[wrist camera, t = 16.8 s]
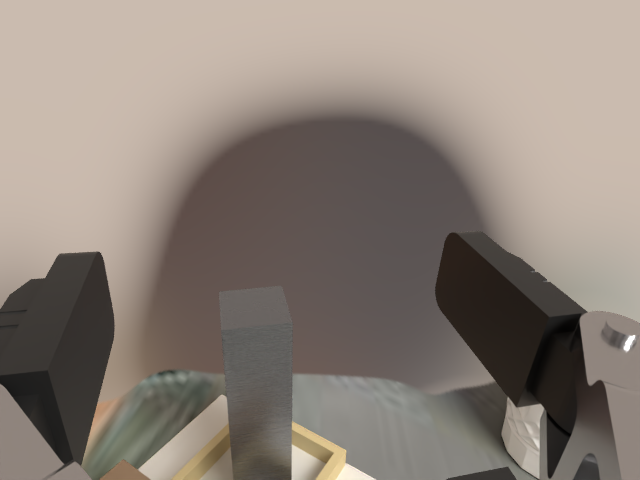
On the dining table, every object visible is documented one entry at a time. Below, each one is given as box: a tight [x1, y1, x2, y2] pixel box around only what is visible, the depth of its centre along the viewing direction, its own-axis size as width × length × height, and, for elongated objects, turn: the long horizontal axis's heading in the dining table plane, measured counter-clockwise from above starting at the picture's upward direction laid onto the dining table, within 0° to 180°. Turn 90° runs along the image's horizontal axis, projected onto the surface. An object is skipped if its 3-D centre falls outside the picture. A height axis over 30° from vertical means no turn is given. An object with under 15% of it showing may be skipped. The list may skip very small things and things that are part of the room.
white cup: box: [501, 397, 544, 479], centre depth 32 cm, size 8×8×10 cm
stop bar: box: [219, 286, 293, 480], centre depth 27 cm, size 4×4×14 cm
